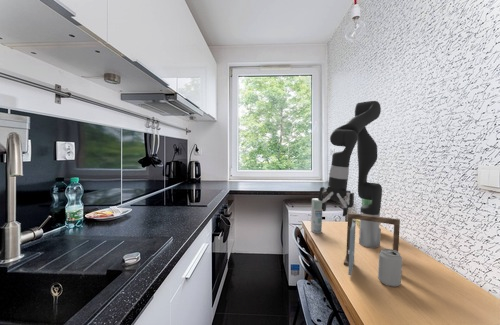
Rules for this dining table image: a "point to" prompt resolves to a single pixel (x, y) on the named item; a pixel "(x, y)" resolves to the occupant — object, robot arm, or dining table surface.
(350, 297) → the dining table surface
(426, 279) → the dining table surface
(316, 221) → the spray can
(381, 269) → the can
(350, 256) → the door
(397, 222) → the door frame
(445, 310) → the dining table surface
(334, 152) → the robot arm
